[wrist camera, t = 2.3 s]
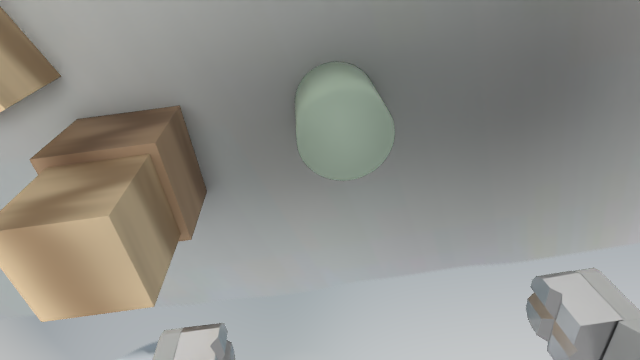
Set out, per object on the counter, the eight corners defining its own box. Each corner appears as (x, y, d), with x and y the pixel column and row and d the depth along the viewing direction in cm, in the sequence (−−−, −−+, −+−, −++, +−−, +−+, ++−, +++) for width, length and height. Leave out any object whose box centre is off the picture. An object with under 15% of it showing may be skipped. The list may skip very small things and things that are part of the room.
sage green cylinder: (373, 56, 22) (394, 84, 18) (376, 133, 25) (395, 174, 20) (289, 67, 22) (289, 97, 18) (300, 143, 24) (303, 185, 20)
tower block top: (149, 153, 19) (108, 215, 14) (180, 234, 21) (154, 306, 17) (46, 167, 19) (-25, 233, 14) (90, 246, 21) (41, 321, 17)
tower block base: (180, 105, 23) (155, 142, 18) (207, 190, 26) (191, 239, 22) (77, 118, 23) (29, 159, 18) (117, 202, 26) (83, 254, 22)
